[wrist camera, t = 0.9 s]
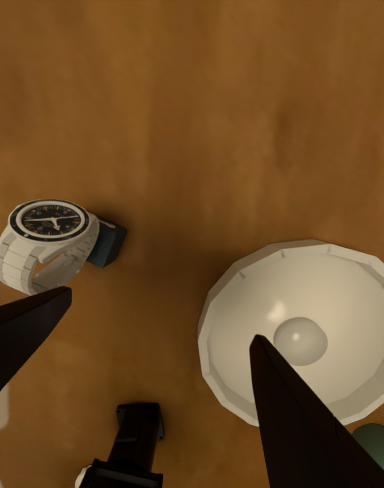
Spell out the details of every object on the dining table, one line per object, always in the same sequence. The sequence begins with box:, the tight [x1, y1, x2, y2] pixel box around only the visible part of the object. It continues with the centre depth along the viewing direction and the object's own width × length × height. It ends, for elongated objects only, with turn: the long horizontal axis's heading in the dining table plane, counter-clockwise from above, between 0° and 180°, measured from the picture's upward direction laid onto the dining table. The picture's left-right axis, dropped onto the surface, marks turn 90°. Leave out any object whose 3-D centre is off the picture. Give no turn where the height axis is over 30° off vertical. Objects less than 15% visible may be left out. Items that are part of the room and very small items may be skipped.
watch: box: [0, 199, 128, 296], centre depth 17 cm, size 6×8×11 cm
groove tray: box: [198, 239, 384, 427], centre depth 23 cm, size 25×25×3 cm
